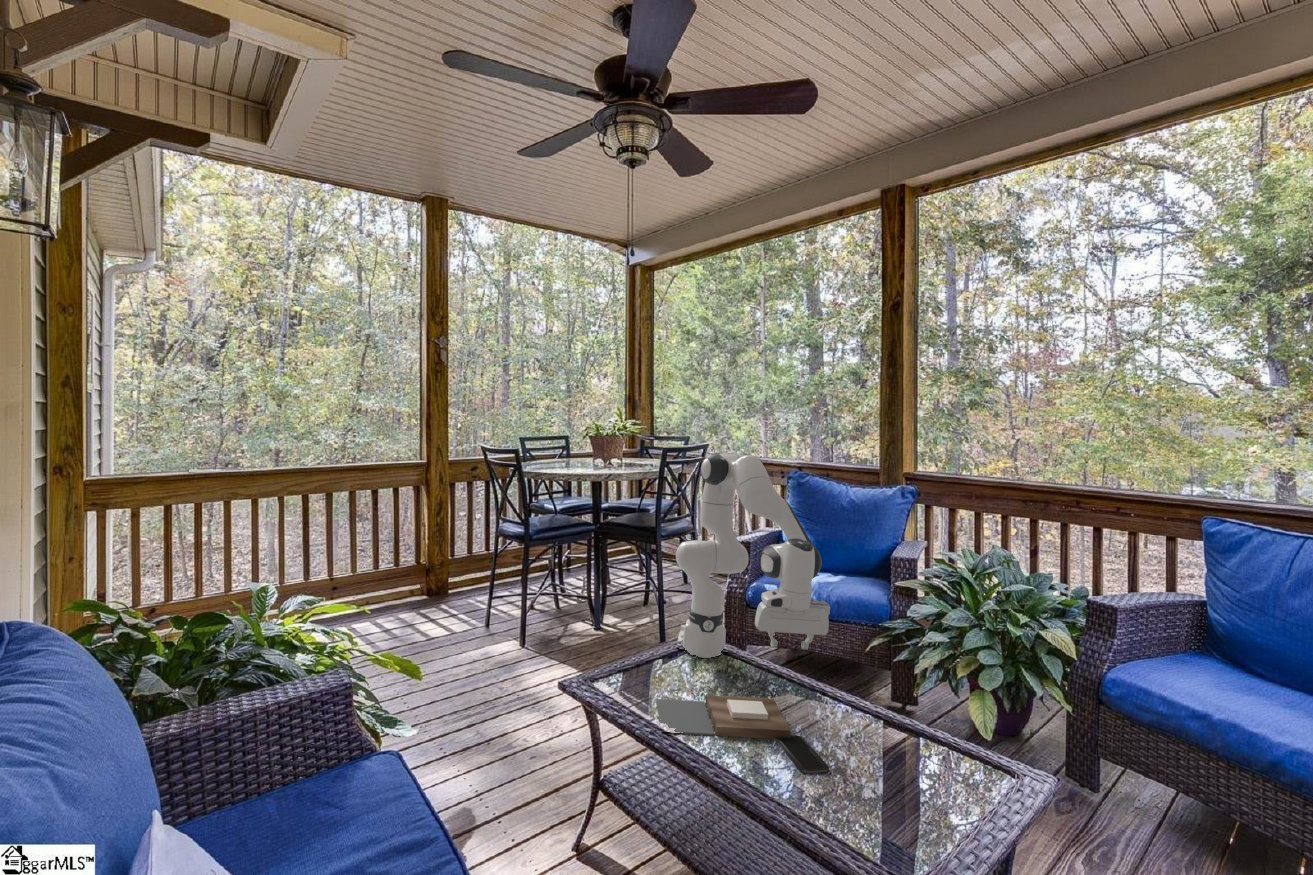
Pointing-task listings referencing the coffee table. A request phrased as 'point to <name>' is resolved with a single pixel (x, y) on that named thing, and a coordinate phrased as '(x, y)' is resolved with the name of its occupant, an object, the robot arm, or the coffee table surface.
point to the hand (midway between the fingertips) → (789, 647)
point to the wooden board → (746, 719)
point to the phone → (802, 755)
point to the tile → (747, 709)
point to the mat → (685, 716)
